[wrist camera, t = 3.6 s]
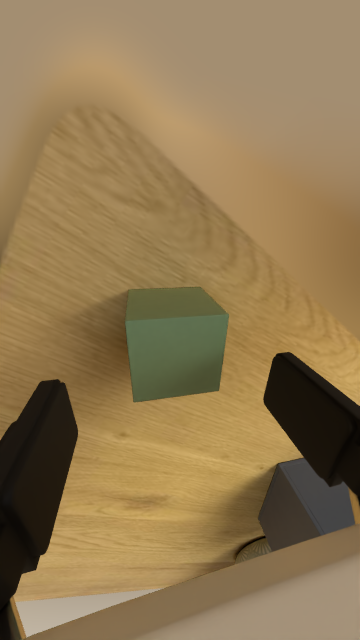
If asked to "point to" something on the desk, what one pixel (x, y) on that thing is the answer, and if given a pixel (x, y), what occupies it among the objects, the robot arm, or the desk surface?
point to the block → (174, 342)
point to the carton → (302, 506)
